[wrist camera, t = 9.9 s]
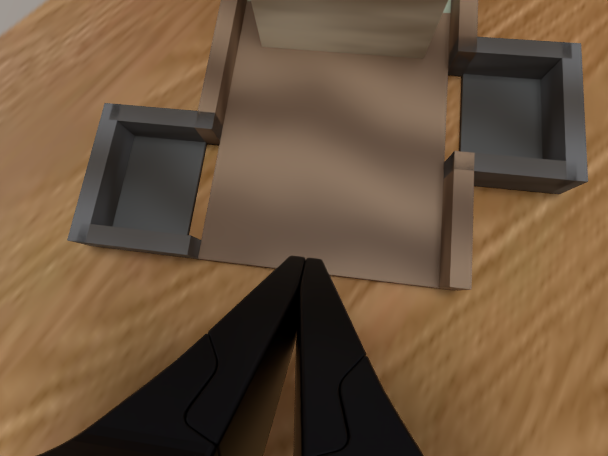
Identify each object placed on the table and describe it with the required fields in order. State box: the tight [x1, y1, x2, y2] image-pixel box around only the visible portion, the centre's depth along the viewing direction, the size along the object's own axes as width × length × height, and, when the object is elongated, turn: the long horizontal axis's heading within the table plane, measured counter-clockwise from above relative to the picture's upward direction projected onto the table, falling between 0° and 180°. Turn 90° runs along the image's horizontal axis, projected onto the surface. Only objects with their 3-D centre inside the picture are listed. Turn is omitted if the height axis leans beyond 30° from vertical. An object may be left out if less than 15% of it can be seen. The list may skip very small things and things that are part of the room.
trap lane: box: [67, 0, 588, 290], centre depth 18 cm, size 28×26×6 cm
